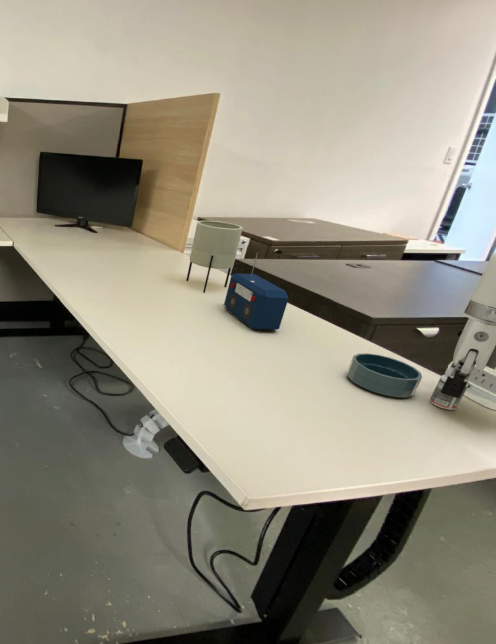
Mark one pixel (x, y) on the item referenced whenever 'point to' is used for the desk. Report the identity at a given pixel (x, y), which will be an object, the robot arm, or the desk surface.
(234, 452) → the desk surface
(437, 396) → the pill bottle
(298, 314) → the desk surface
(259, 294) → the radio
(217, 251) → the planter
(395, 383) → the bowl
